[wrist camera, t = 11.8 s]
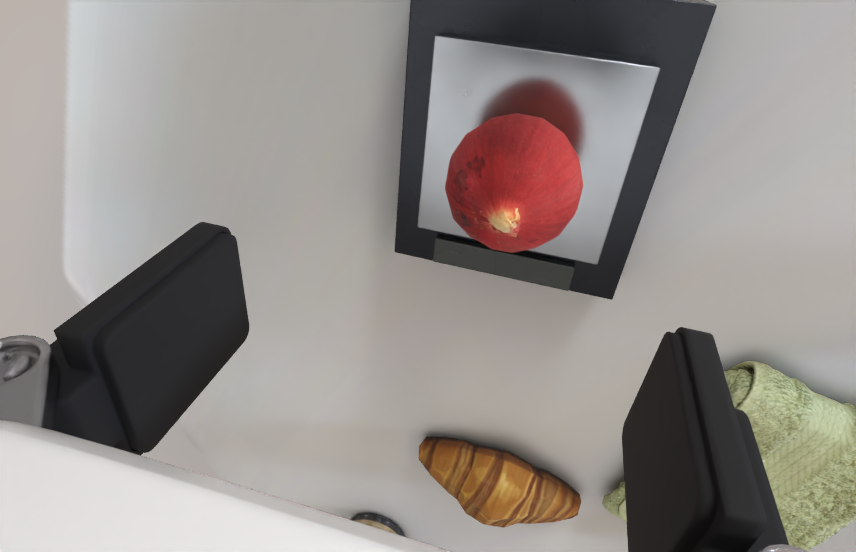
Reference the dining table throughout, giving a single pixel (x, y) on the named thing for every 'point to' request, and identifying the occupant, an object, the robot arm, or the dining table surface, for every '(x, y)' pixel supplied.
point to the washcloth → (794, 452)
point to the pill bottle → (378, 522)
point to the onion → (514, 182)
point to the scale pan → (546, 98)
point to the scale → (566, 31)
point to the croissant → (497, 483)
